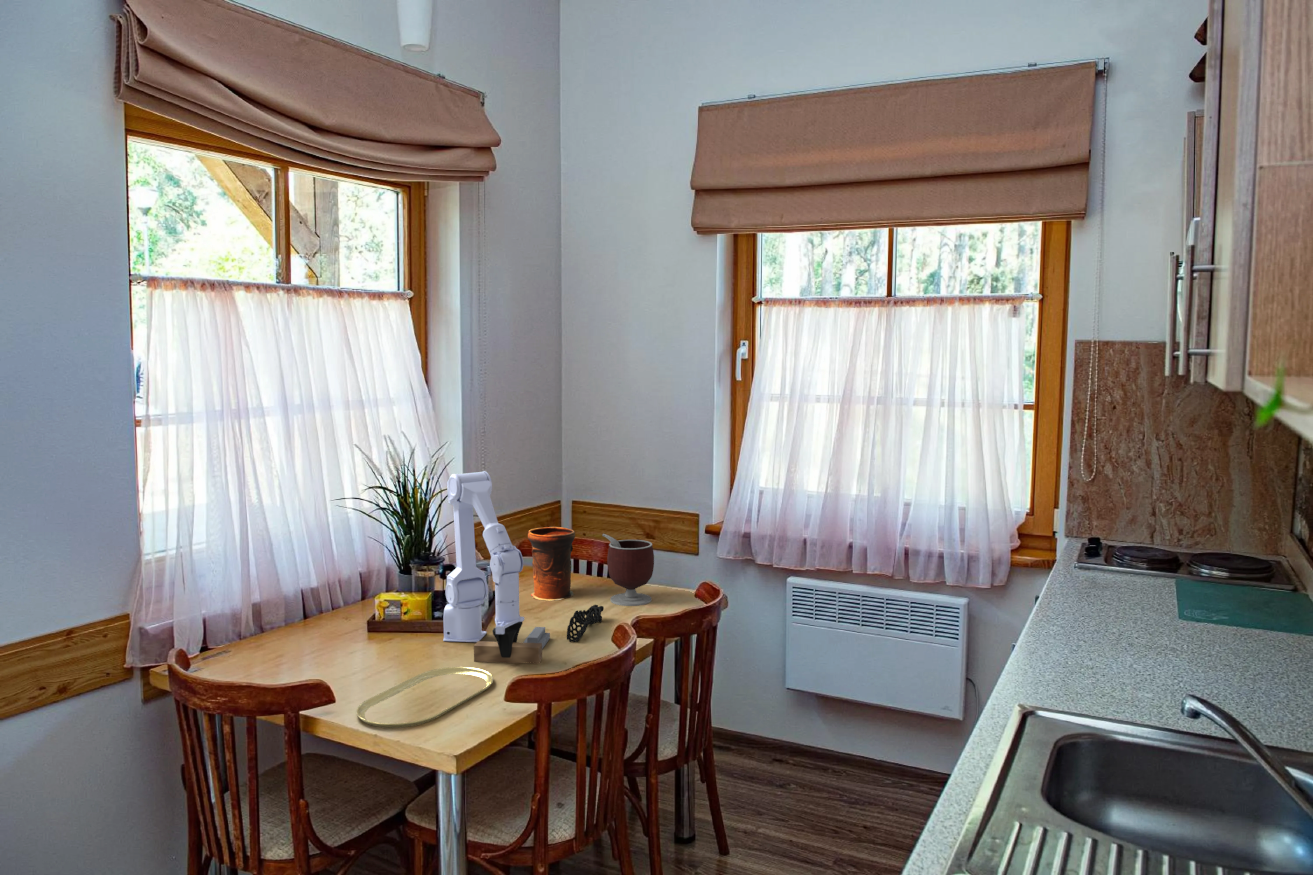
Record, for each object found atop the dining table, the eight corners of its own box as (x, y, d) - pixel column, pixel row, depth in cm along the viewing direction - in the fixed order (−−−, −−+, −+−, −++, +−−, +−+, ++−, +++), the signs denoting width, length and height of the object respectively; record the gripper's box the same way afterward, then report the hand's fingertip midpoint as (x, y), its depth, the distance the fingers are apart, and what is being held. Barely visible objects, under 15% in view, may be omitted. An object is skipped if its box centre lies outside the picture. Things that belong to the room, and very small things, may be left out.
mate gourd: (657, 594, 291) (657, 530, 289) (650, 607, 278) (650, 539, 276) (607, 593, 293) (607, 529, 291) (598, 605, 280) (597, 538, 278)
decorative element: (582, 644, 245) (582, 622, 244) (563, 642, 246) (563, 620, 246) (606, 619, 267) (606, 599, 266) (588, 618, 268) (589, 597, 267)
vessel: (523, 590, 297) (524, 526, 295) (568, 587, 301) (569, 525, 299) (531, 602, 283) (532, 536, 281) (578, 599, 287) (579, 534, 285)
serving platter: (336, 721, 196) (336, 714, 196) (443, 668, 228) (443, 662, 227) (409, 737, 188) (409, 729, 188) (509, 680, 220) (509, 673, 219)
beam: (474, 661, 231) (473, 645, 231) (478, 656, 235) (477, 641, 235) (538, 663, 230) (538, 647, 229) (542, 658, 233) (541, 643, 233)
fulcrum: (522, 648, 241) (522, 637, 240) (531, 637, 250) (530, 626, 249) (542, 649, 240) (542, 637, 240) (549, 638, 249) (549, 627, 249)
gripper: (515, 608, 223) (516, 664, 225) (530, 592, 238) (531, 645, 239) (486, 607, 224) (487, 663, 225) (502, 591, 238) (503, 644, 240)
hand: (508, 654), depth 232 cm, fingers closed on beam, 3 cm apart
